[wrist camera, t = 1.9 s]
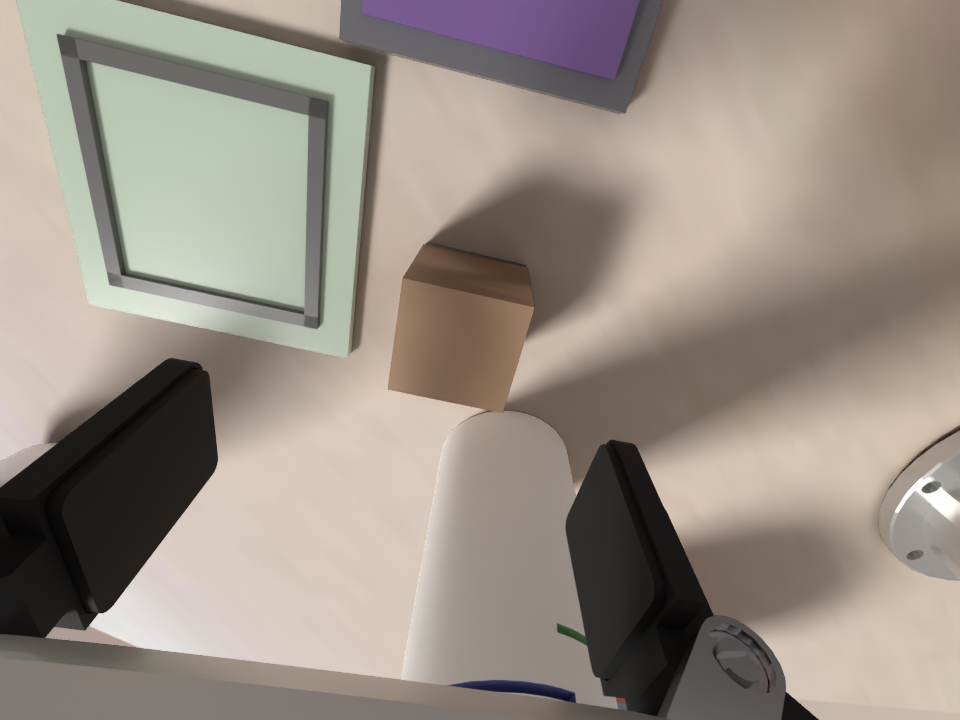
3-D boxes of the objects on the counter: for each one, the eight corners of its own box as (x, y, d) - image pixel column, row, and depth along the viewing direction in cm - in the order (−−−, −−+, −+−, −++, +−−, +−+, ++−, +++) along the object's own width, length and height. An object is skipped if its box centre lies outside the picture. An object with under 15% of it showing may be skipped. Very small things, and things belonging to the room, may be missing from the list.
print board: (375, 67, 16) (368, 64, 15) (351, 352, 21) (345, 361, 21) (26, -23, 15) (-1, -31, 14) (99, 299, 21) (83, 307, 20)
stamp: (527, 264, 19) (534, 307, 15) (502, 352, 21) (502, 412, 17) (426, 240, 19) (402, 278, 14) (411, 332, 21) (387, 389, 16)
